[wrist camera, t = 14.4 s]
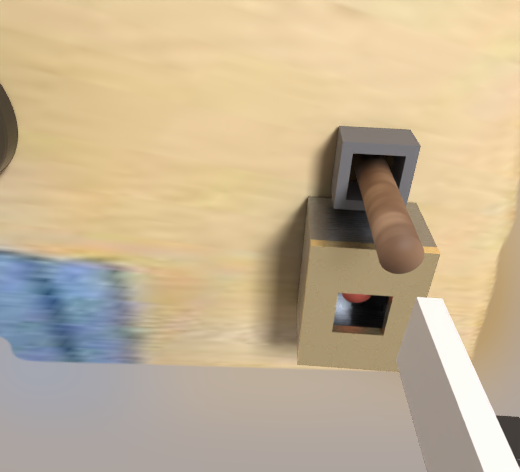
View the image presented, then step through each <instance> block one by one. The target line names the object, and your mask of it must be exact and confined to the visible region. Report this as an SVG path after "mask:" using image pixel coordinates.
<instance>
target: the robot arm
mask: <svg viewBox="0 0 520 472" xmlns="http://www.w3.org/2000/svg"><path fill="white" fill-rule="evenodd" d="M17 138H18V131H17V122H16V117H15V114H14V110H13V107H12V105H11V102H10V100H9V98H8V96H7V94H6V92H5V90H4V89H3V87H2V85H1V84H0V172H1V171H2V170H3V169H4V168H5V167H6V166H7V165H8V164H9V162H10V161H11V159H12V157H13V155H14V153H15V150H16V146H17ZM396 362H397V366H398V369H399V373H400V376H401V380H402V384H403V387H404V390H405V394H406V398H407V402H408V405H409V409H410V412H411V416H412V420H413V423H414V427H415V430H416V434H417V437H418V441H419V445H420V448H421V451H422V455H423V459H424V463H425V466H426V470H427V472H520V418H519V417H511V416H496V415H495V413H494V411H493V409H492V407H491V405H490V402H489V400H488V398H487V396H486V394H485V391H484V390H483V387H482V385H481V383H480V380H479V378H478V376H477V374H476V372H475V369H474V367H473V365H472V363H471V361H470V358H469V356H468V354H467V352H466V350H465V347H464V345H463V343H462V341H461V339H460V336H459V334H458V332H457V330H456V328H455V325H454V323H453V321H452V319H451V317H450V314H449V312H448V310H447V308H446V306H445V304H444V301H443V299H440V298H425V297H416V300H415V303H414V306H413V309H412V312H411V315H410V318H409V322H408V325H407V328H406V331H405V334H404V337H403V340H402V343H401V346H400V349H399V352H398V355H397V358H396Z"/></svg>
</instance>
